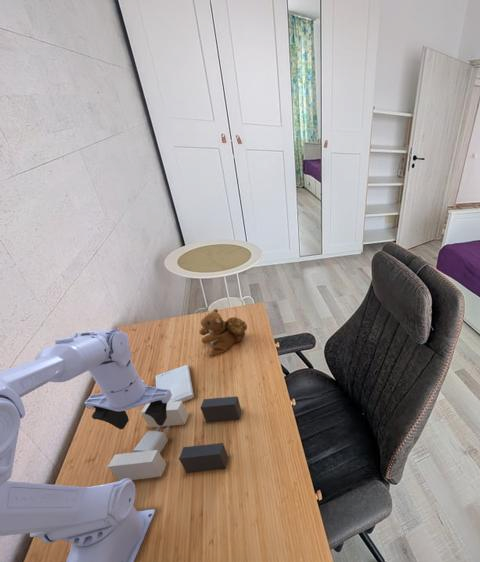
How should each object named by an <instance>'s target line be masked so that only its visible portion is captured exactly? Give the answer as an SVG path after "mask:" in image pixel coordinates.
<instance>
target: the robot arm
mask: <svg viewBox="0 0 480 562" xmlns="http://www.w3.org/2000/svg"><path fill="white" fill-rule="evenodd" d="M54 341H55V344H53V345H52V344H51V345H49V346H47V347H45V348H43V349H42V350H41V351H39V353H37V354H36V357H35V358H34V360H31V361H28V362H24V363H21V364H19V365H15V366H12V367H8V368H5V369H3V370H0V537H5V536H16V535H26V534H29V538H38V539H40V540H41V541H42V543H44V544H53V543H55V542H58V541H60V540H62V541H63V542H64V543H67V542H69V543H70V549H69V553H68V554H67V555H68V556H67V558H66V560H65V562H135V561H136V559H137V556H138V553H139V551H140V548H141V546H142V544H143V541H144V539H145V537H146V535H147V532H148V530H149V528H150V525H151V523H152V521H153V518H154V516H155V513H156V510H155V508H154V509H153V508H152V509H151V508H150V509H145V510H137V509H136V508H135V507H134V503H135V500H136V485H135V483H134V481H133V480H131V479H129V478H125V479H122V480H121V481H118V480H117V481H114V482H107V483H104V484H99V485H92V486H78V485H77V486H76V485H65V484H63V485H62V484H49V483H37V482H27V481H26V482H24V481H10V479H11V478H12V474H13V467H14V462H15V455H16V449H17V444H18V437H19V432H20V427H21V419H24V417H25V416H26V409H25V405H24V403H23V400H22V397H25V396H26V395H28V394H30V393H32V392H34V391H35V390H38V389H39V388H41V387H42V386H44V385H46V384H48V383H65V382H68V381H70V380H72V379H74V378H76V377H78V376H80V375H82V374H84V373H86V372H89V374H90V376H91V377H92V378H93V380H94V381H95V384H97V386H98V388H99V389H100V391H101V392H100V393H95V394H90V396H88V398H87V399H86V400H85V401H84V405H85V406H86V408H87V409H88V410H94V412H93V413H92V415H91V418H92V419H93V420H98V421H103V422H106V423H108V424H109V425H112V426H113V427H115V428H117V429H119V430H124V429H125V428H126V426H127V425H128V422H129V420H130V419H129V416H128V414H127V412H126V411H129V410H132V409H136V408H138V407H141V406H145V405H146V404H150V405H149V406H148V408H147V410H146V411H145V414H147V415H149V416H151V417H152V418H153V419H154V420H155V422H156V423H157V424H158V425H159V426H162V425H163V424H164V422H165V420H166V418H167V414H166V407H167V403H168V401H169V400H170V398H171V396H172V394H171V391H170V389H160V388H156V386H152V385H147V384H145V380H144V379H141V377H140V375H139V373H138V370H137V369H136V367H135V365H134V363H133V361H132V351H131V348H130V340H129V335H128V333H125V332H124V331H123V330H120V329H118V328H112V329H111V328H110V329H101V330H89V331H84V332H83V331H82V332H74V333H73V334H72V335H71V336H69V337H60V338H57V339H55V340H54ZM162 427H163V426H162Z"/></svg>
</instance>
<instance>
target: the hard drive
mask: <svg viewBox="0 0 480 562" xmlns="http://www.w3.org/2000/svg"><path fill="white" fill-rule="evenodd" d="M154 377H155V378H154V379H155V387H156V388H160V389H170V391H171V394H172V396H171V398H170V400H169V401H168V402H175V401H182V402H183V403H185V402H187V401H189V400H192V399H194V398H195V394H194V389H193V383H192V377H191V372H190V365H188V364H185V365H183V366H179V367H176V368H173V369H171V370H168V371H165V372H162V373H159V374H157V375H155V376H154Z"/></svg>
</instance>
